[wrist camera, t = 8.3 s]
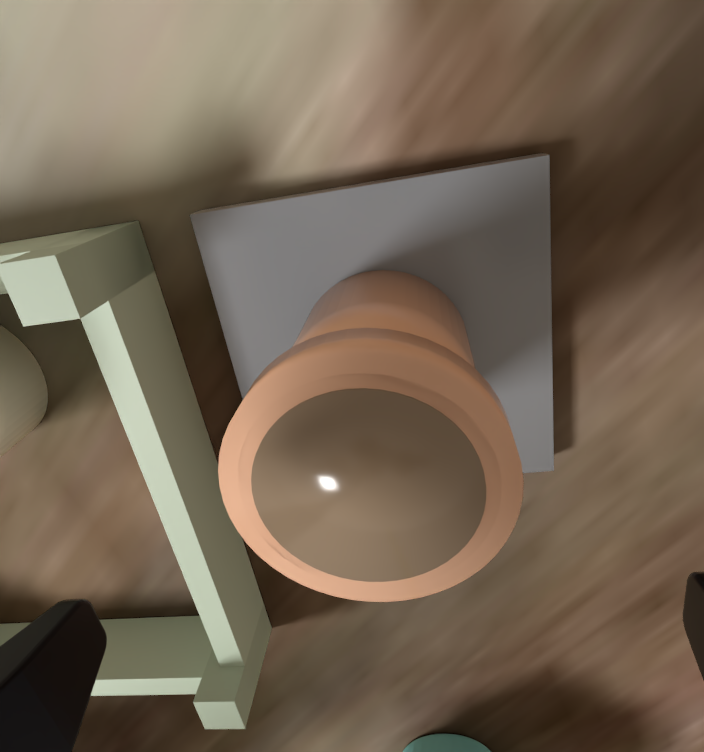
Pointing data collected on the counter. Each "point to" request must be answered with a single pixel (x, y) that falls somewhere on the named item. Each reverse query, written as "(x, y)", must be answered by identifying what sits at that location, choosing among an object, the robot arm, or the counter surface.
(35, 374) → the pot
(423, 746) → the cupcake
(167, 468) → the cold frame
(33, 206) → the counter surface
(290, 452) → the terracotta pot
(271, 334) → the slate tile
